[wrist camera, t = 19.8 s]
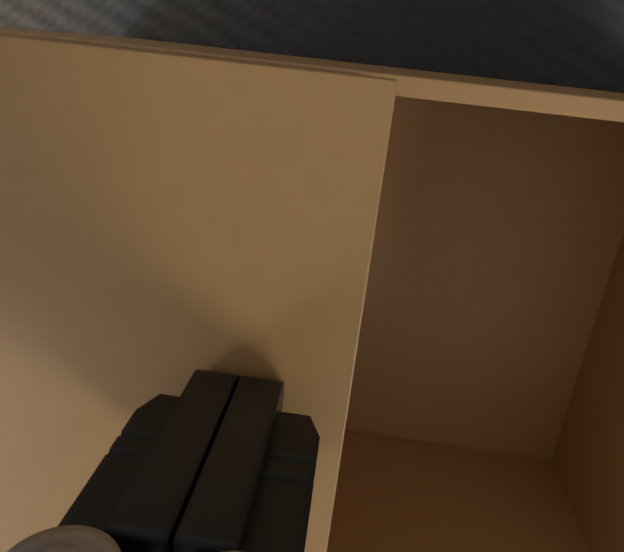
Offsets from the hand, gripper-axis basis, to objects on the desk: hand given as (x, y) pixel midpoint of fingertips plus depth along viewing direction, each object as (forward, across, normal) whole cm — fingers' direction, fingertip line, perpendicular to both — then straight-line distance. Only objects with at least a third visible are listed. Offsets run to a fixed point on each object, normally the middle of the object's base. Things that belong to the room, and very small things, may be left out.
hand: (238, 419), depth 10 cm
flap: (0, +2, 0) cm, 2 cm away
